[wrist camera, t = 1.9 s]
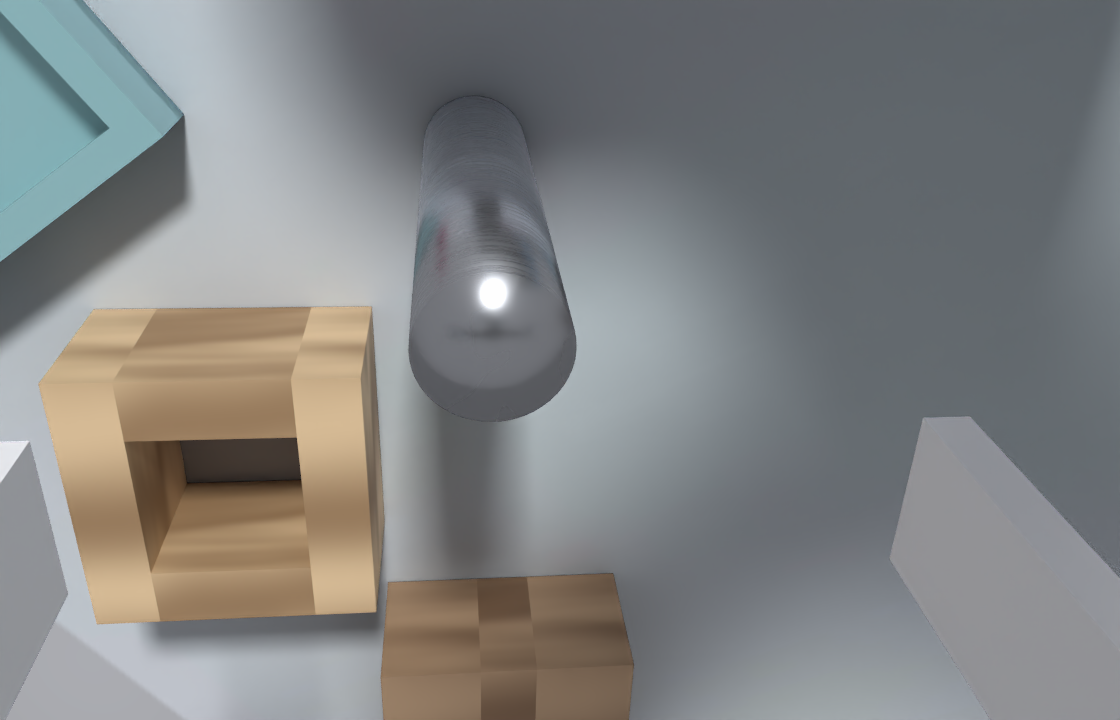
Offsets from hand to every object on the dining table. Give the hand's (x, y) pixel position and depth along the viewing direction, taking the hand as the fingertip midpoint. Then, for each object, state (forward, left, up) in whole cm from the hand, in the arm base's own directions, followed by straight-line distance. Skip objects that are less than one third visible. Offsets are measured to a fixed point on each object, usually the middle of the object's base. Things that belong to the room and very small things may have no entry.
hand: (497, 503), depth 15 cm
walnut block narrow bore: (+22, +1, -19) cm, 29 cm away
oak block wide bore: (+10, -8, -19) cm, 22 cm away
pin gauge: (0, 0, -19) cm, 19 cm away
